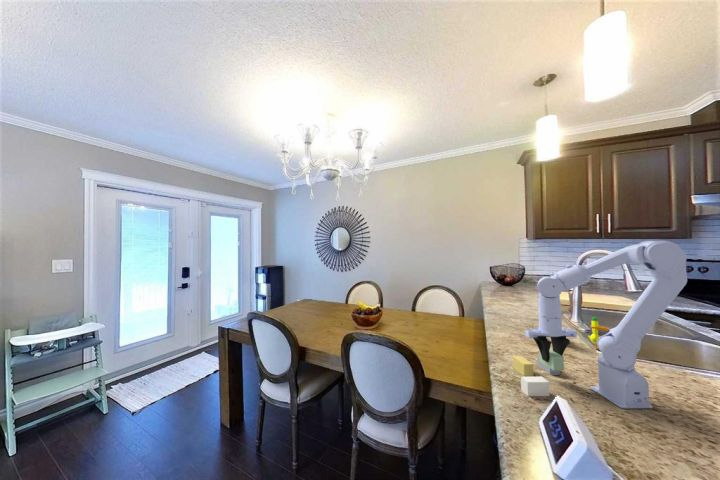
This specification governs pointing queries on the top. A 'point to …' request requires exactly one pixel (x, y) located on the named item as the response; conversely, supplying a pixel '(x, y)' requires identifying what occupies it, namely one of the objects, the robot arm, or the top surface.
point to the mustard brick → (523, 366)
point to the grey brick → (546, 368)
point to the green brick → (554, 361)
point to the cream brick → (535, 386)
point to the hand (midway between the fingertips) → (551, 360)
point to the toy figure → (596, 331)
